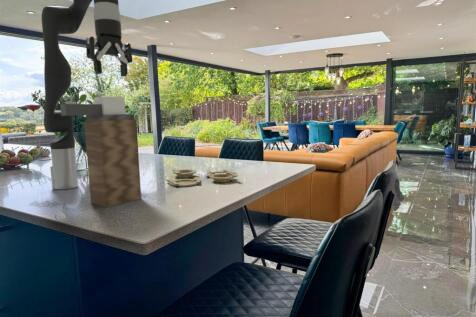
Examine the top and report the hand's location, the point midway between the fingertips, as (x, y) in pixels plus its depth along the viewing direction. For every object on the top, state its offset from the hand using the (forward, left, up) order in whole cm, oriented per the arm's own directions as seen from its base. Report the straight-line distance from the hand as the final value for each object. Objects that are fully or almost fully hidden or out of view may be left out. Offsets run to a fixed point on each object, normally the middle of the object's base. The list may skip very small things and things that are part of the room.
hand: (111, 75), depth 104 cm
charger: (-10, +5, -12) cm, 17 cm away
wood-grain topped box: (-7, +10, -43) cm, 45 cm away
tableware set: (+15, +51, -44) cm, 69 cm away
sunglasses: (-45, +56, -44) cm, 84 cm away
